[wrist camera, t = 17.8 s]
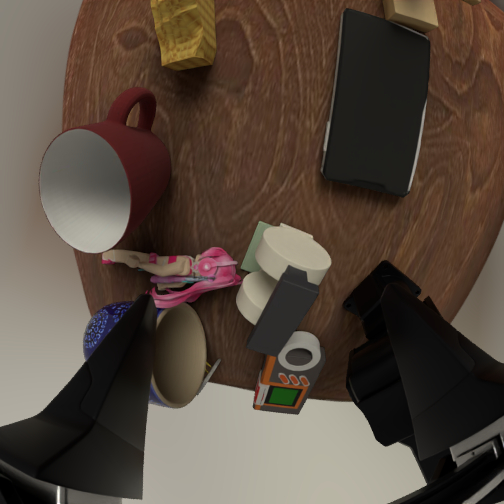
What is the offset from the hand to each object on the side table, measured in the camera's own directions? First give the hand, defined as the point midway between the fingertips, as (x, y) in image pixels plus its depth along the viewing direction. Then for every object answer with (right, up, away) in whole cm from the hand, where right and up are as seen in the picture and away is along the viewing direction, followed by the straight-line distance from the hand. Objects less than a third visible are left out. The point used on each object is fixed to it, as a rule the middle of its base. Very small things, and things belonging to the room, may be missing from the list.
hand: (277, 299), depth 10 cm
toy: (-9, 0, +17) cm, 19 cm away
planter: (-18, -9, +18) cm, 27 cm away
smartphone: (+9, +14, +8) cm, 19 cm away
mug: (-10, +11, +12) cm, 19 cm away
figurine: (-6, +22, +6) cm, 23 cm away
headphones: (+2, +1, +15) cm, 15 cm away
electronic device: (+4, -13, +23) cm, 27 cm away
